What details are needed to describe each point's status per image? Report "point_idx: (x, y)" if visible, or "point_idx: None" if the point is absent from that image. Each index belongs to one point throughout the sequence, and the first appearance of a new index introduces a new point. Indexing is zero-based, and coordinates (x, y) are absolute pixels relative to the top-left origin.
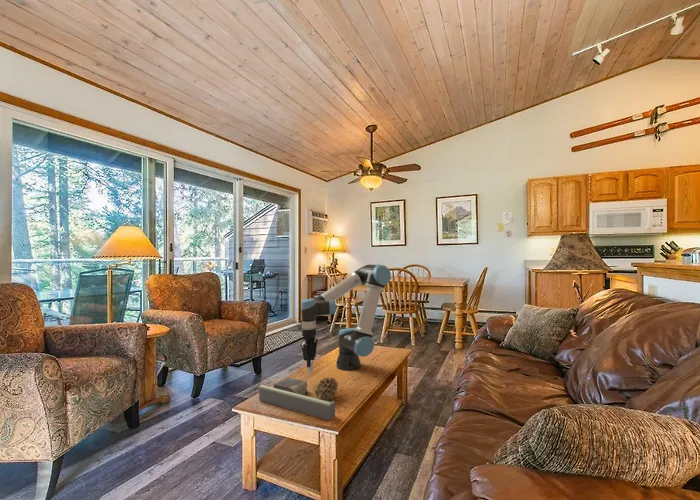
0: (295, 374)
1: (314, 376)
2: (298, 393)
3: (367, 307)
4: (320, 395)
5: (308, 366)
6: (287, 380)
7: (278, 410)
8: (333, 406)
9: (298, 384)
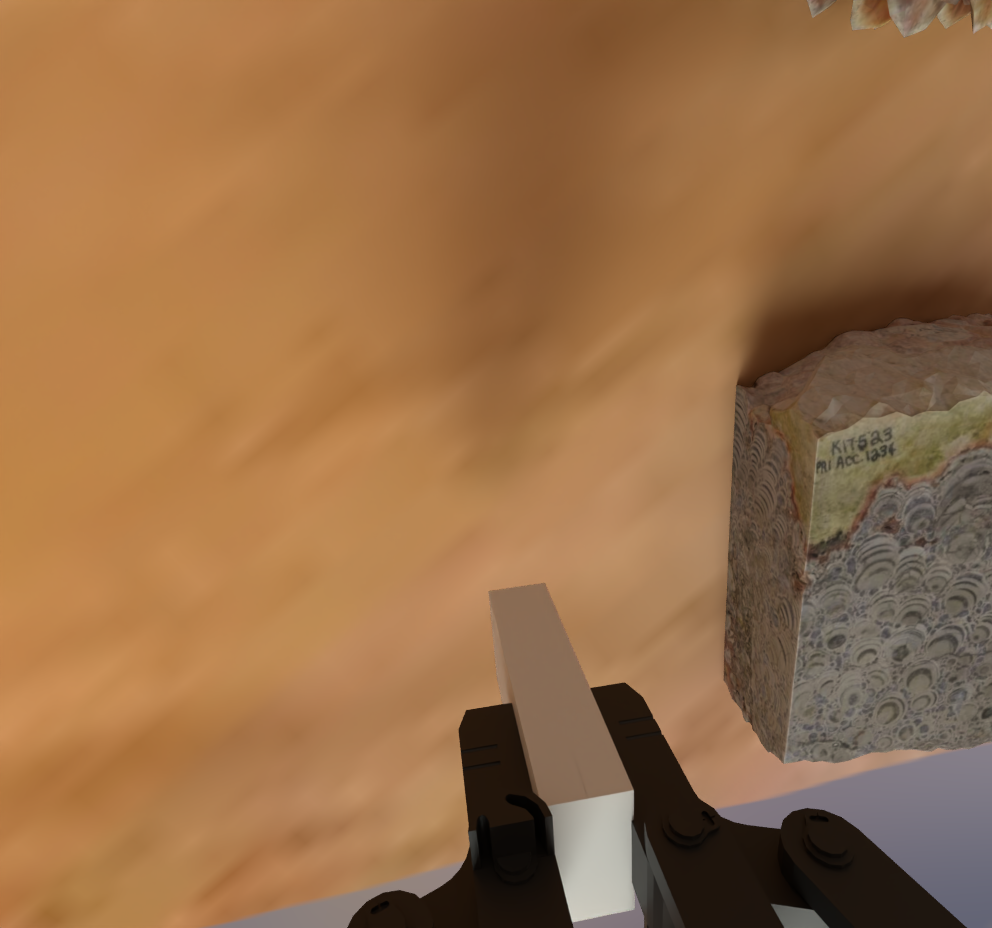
0: (364, 884)
1: (244, 671)
2: None
3: None
4: None
5: (643, 710)
6: (883, 702)
7: None
8: None
9: (990, 451)
